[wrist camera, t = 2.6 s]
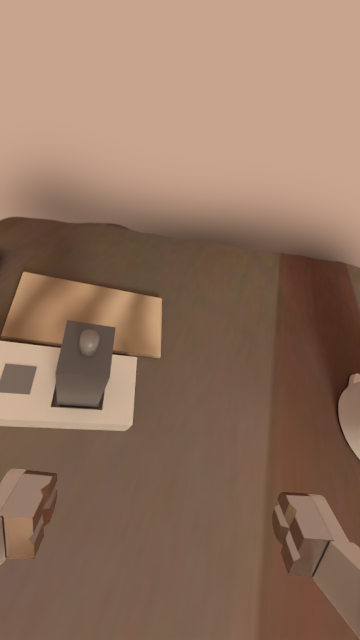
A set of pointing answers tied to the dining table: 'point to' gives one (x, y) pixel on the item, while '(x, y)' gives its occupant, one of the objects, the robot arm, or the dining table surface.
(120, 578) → the dining table surface
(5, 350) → the beige holder tray
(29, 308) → the oak board
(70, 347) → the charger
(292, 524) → the robot arm
